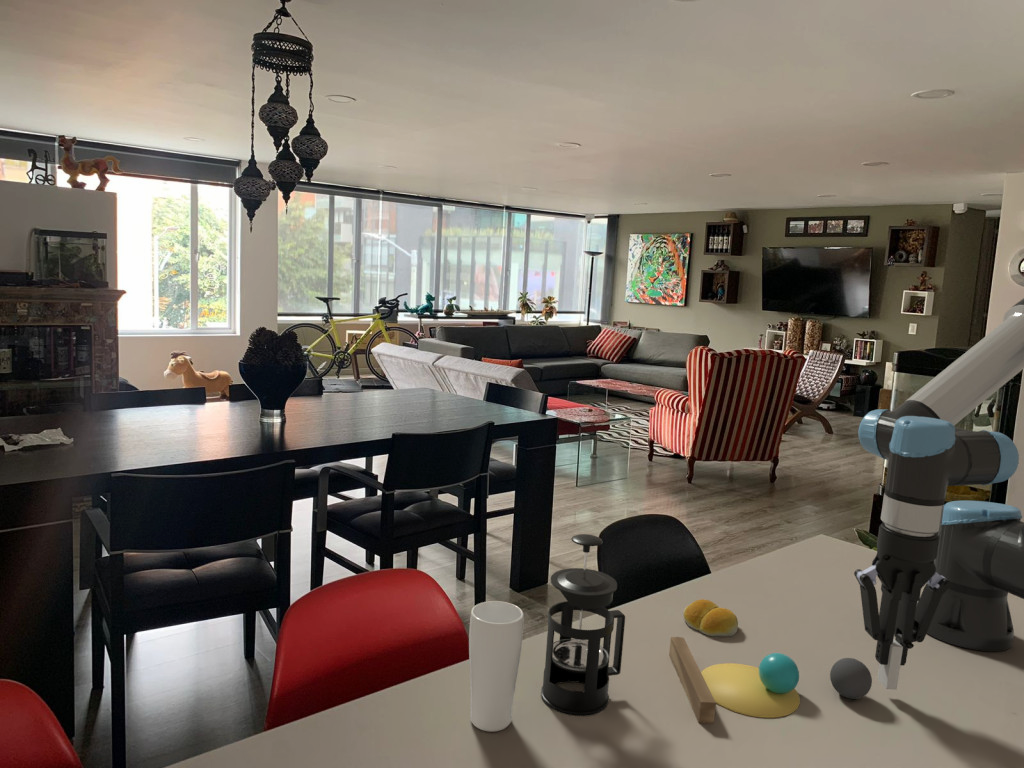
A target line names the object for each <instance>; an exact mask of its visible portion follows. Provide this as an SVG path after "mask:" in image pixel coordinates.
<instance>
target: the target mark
mask: <svg viewBox="0 0 1024 768" xmlns="http://www.w3.org/2000/svg"><path fill="white" fill-rule="evenodd" d="M700 672H701V674H702V676H703V678H704V680H705V682H706V684H707V686H708V688H709V690H710V692H711V694H712V696H713V698H714V700H715V702H716V705H719V706H721V707H722V708H725V709H727V710H728V711H732V712H734V713H738V714H741V715H744V716H749V717H754V718H763V719H764V718H765V719H766V718H767V719H771V718H772V719H773V718H782V717H785V716H788V715H791V714H792V713H794V712H795V711H796V710H798V708H799V706H800V703H801V702H800V699H801V698H800V695H799V693H798V691H797V690H796V687H795V688H794V689H793V690H792V691H790V692H788V693H785V694H778V693H774V692H772V691H770V690H769V689H767V688H766V687H765V686H764V685H763V683H762V682H761V679H760V677H759V667H757V666H753V665H749V664H744V663H743V664H742V663H734V662H733V663H731V662H730V663H726V662H725V663H716V664H712V665H710V666H707V667H706V668H704V669H703V670H701V671H700Z"/></svg>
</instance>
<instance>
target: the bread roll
mask: <svg viewBox="0 0 1024 768" xmlns="http://www.w3.org/2000/svg"><path fill="white" fill-rule="evenodd" d="M682 617H683V619H684V621H685V623H686V625H687V626H688V627H690V628H692V629H694V630H696V631H699V632H700V633H701V634H703V635H706V636H708V637H715V638H716V637H718V636H719V637H720V636H725V637H731V636H733V635H735V634H736V632H738V626H739V620H738V617H737V616H736V614H735V613H734V612H733V611H732V610H730V609H728V608H726V607H725V608H724V607H720V606H718V605H717V604H716V603H715V602H713V601H711V600H709V599H705V598H704V599H697V600H695V601H693V602H691V603H690V604H689V605H687V606H686V607H685V608H684V609H683V612H682Z"/></svg>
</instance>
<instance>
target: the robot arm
mask: <svg viewBox="0 0 1024 768" xmlns="http://www.w3.org/2000/svg"><path fill="white" fill-rule="evenodd" d="M1022 370H1024V297H1023V298H1021V299H1020V300H1019V301H1018V302H1016V303H1015V304H1014V305H1012V306H1011V307H1010V308H1009V309H1008V310H1006V312H1005V313H1004V315H1003V320H1002V323H1001V324H999V325H998V326H997V327H995V328H994V329H993V330H991V331H990V332H989V333H988V334H986V335H985V336H984V337H982V339H980V340H979V341H978V342H977V343H976V344H974V345H973V346H972V347H970V348H969V349H968V350H967V351H965V353H963V354H962V355H961V356H959V357H958V358H957V359H955V360H954V361H953V362H951V363H950V364H949V365H948V366H947V367H946V368H945V369H943V370H941V372H939V373H938V374H937V375H936V376H934V377H933V378H932V379H931V380H929V382H927V383H925V385H924V386H922V387H921V388H920V389H918V390H917V391H915V393H913V394H912V395H911V396H910V397H908V398H907V399H906V400H905V401H904V402H902V403H901V404H900V405H898V406H897V407H896V408H895V409H894V410H890V409H882V408H881V409H880V408H879V409H874V410H871V411H868V412H867V413H866V414H865V415H864V416H863V418H862V420H861V421H860V424H859V426H858V431H857V433H858V441H859V443H860V445H861V446H862V448H863V450H865V451H866V452H868V453H870V454H872V455H875V456H877V457H879V458H881V459H882V460H886V461H888V462H887V470H886V472H887V473H886V478H885V487H884V493H883V498H882V499H883V500H882V506H881V507H882V508H881V513H880V520H881V521H882V523H881V524H879V525H878V526H879V527H878V534H877V541H876V555H875V557H874V558H873V560H872V562H871V566H868V567H867V568H866V569H865V568H864V570H862V569H856V570H854V572H853V573H854V577H855V578H856V580H857V583H858V584H859V588H860V589H859V590H860V598H861V599H860V601H861V606H862V607H861V608H862V615H863V625H864V631H865V632H866V633H867V635H869V636H870V637H871V638H872V639H873V640H874V641H876V648H875V653H874V654H875V660H876V661H877V662H878V663H879V665H878V671H877V672H878V673H877V680H878V682H879V683H880V684H881V685H882V686H883V687H884V688H885V689H886V690H894V691H895V690H896V691H897V690H898V685H899V682H898V681H899V678H900V677H899V676H900V672H901V671H900V670H901V666H905V664H906V663H907V658H908V652H909V651H908V650H909V649H913V648H914V646H915V644H914V643H923V642H924V640H925V638H926V636H927V634H928V635H929V636H931V637H933V638H936V639H937V640H939V641H942V642H945V643H947V644H949V645H954V646H957V647H960V648H965V649H969V650H974V651H981V652H982V651H983V652H1002V651H1005V650H1009V649H1010V648H1011V647H1012V646H1013V642H1014V637H1015V630H1014V629H1015V628H1014V625H1013V620H1012V616H1011V610H1010V605H1009V602H1008V597H1009V594H1011V595H1013V596H1016V597H1018V598H1020V599H1022V600H1024V521H1021V519H1023V515H1022V511H1021V509H1019V508H1018V507H1015V506H1013V505H1009V504H1004V503H998V502H992V501H991V502H990V501H983V500H982V501H981V500H953V501H949V502H946V503H945V501H946V495H947V490H948V486H949V487H953V486H975V485H978V486H979V485H981V486H988V485H990V484H991V485H992V484H996V483H997V484H998V483H1002V482H1005V481H1007V480H1009V479H1011V478H1012V477H1013V475H1015V473H1016V471H1017V470H1018V467H1019V464H1020V463H1019V460H1020V454H1019V450H1018V448H1017V445H1016V444H1015V443H1014V441H1013V440H1012V439H1011V438H1010V437H1009V436H1007V435H1006V434H1004V433H1002V432H999V431H988V430H986V429H985V430H984V429H982V430H978V431H977V430H969V429H965V428H961V427H956V425H957V424H959V422H960V421H962V420H963V419H964V418H965V417H966V416H967V415H969V414H970V413H972V411H974V410H975V409H976V408H977V407H978V406H980V405H981V404H982V403H984V402H985V401H986V400H987V399H989V398H990V397H991V396H993V394H994V393H996V392H997V391H998V390H999V389H1001V388H1002V387H1003V386H1004V385H1005V384H1007V383H1008V382H1009V381H1011V379H1013V378H1014V377H1015V376H1016V375H1018V374H1019V373H1020V372H1021V371H1022ZM877 578H878V579H879V581H880V582H881V585H880V591H881V598H880V604H879V603H878V594H877V589H876V587H875V585H877ZM923 587H924V588H923ZM922 588H923V590H922ZM879 605H880V606H879ZM894 637H895V638H894Z"/></svg>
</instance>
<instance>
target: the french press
mask: <svg viewBox="0 0 1024 768" xmlns="http://www.w3.org/2000/svg"><path fill="white" fill-rule="evenodd" d="M570 539H571V541H572V542H573V543H574V544H576V545H579V546H582V552H583V553H584V558H583V559H584V561H583V567H582V568H581V567H579V568H578V567H575V568H574V567H572V568H571V567H570V568H564V569H560V570H557V571H555V572H554V573H552V575H551V576H550V583H551V585H552V586H553V587H554V588H555V589H556V590H558V591H559V592H560V593H561V594H562V595H563V597H564V598H565V600H566V601H561V602H557V603H555V604H553V605H552V606H550V607H549V609H548V612H547V634H546V635H547V636H546V647H545V649H546V650H545V663H544V670H543V679H542V680H543V681H542V686H541V689H540V697H541V699H542V701H543V703H544V704H545V705H546V706H547V707H549V708H550V709H551V710H553V711H556V712H558V713H561V714H565V715H568V716H572V717H573V716H574V717H588V716H594V715H596V714H599V713H601V712H603V711H605V709H606V708H607V707H608V705H609V702H610V696H609V683H610V677H612V676H617V675H620V674H621V671H622V659H623V646H624V636H625V624H626V616H625V615H626V614H625V613H623V612H622V611H621V610H620V609H615V610H609V609H608V608H606V607H608V606H610V604H612V602H613V596H614V592H616V590H617V589H618V583H617V580H616V579H615V578H614V577H612V576H611V575H609V574H607V573H604V572H602V571H599V570H595V569H589V568H587V563H588V562H587V561H588V553H590V551H591V547H597V546H600V545H602V544H603V542H604V541H603V539H602V538H601V537H598V536H596V535H594V534H588V533H579V534H575V535H573V536H572V537H571V538H570ZM574 611H579V619H578V621H579V623H578V628H573V618H574V617H573V616H574ZM583 612H587V613H591V614H592V613H593V614H595V615H598V616H601V617H602V618H604V627H601V628H597V629H582V626H583V625H582V624H583ZM557 613H561V614H560V616H561V617H560V623H559V622H557V621H556V620H555V619H553V616H554V615H556V614H557ZM615 619H616V629H615V638H614V639H615V640H614V651H613V662H612V665H611V666H609V665H610V656H611V655H610V654H611V642H612V633H613V631H614V625H615ZM555 633H556V634H558V635H559V640H556V641H554V639H555ZM602 639H603V643H602V645H601V640H602ZM564 682H565V683H567V682H573V683H580V684H584V685H583V691H576V690H570V689H566V688H563V687H561V686H559V685H558V684H562V683H564Z"/></svg>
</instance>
